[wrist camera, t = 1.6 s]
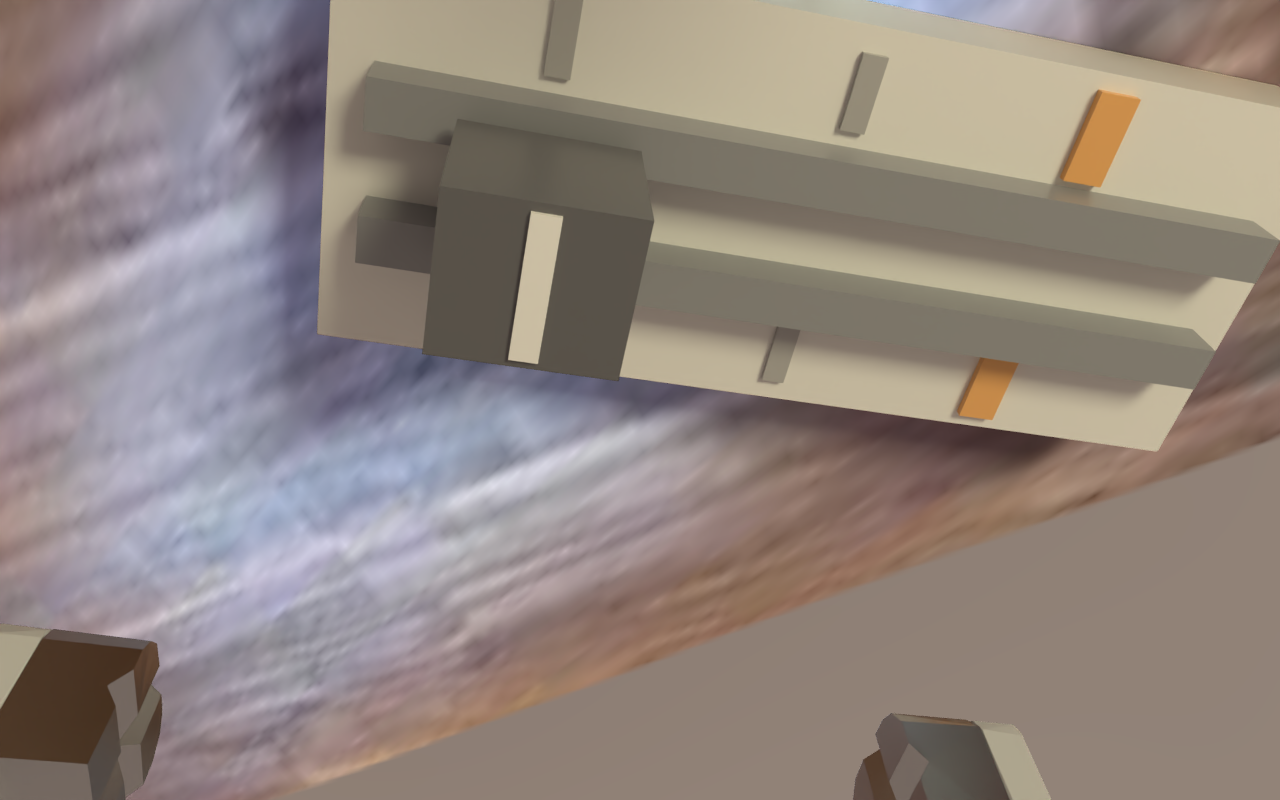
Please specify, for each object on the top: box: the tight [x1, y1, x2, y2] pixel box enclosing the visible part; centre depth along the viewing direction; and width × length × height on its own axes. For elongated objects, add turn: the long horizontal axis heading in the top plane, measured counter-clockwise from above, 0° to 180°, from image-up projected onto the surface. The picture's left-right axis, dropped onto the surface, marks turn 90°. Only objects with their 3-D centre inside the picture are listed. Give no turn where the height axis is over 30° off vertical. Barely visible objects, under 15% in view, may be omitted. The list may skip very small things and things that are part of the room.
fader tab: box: [422, 119, 654, 381], centre depth 22 cm, size 4×4×6 cm
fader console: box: [317, 0, 1280, 451], centre depth 26 cm, size 24×10×4 cm, turn 79°
